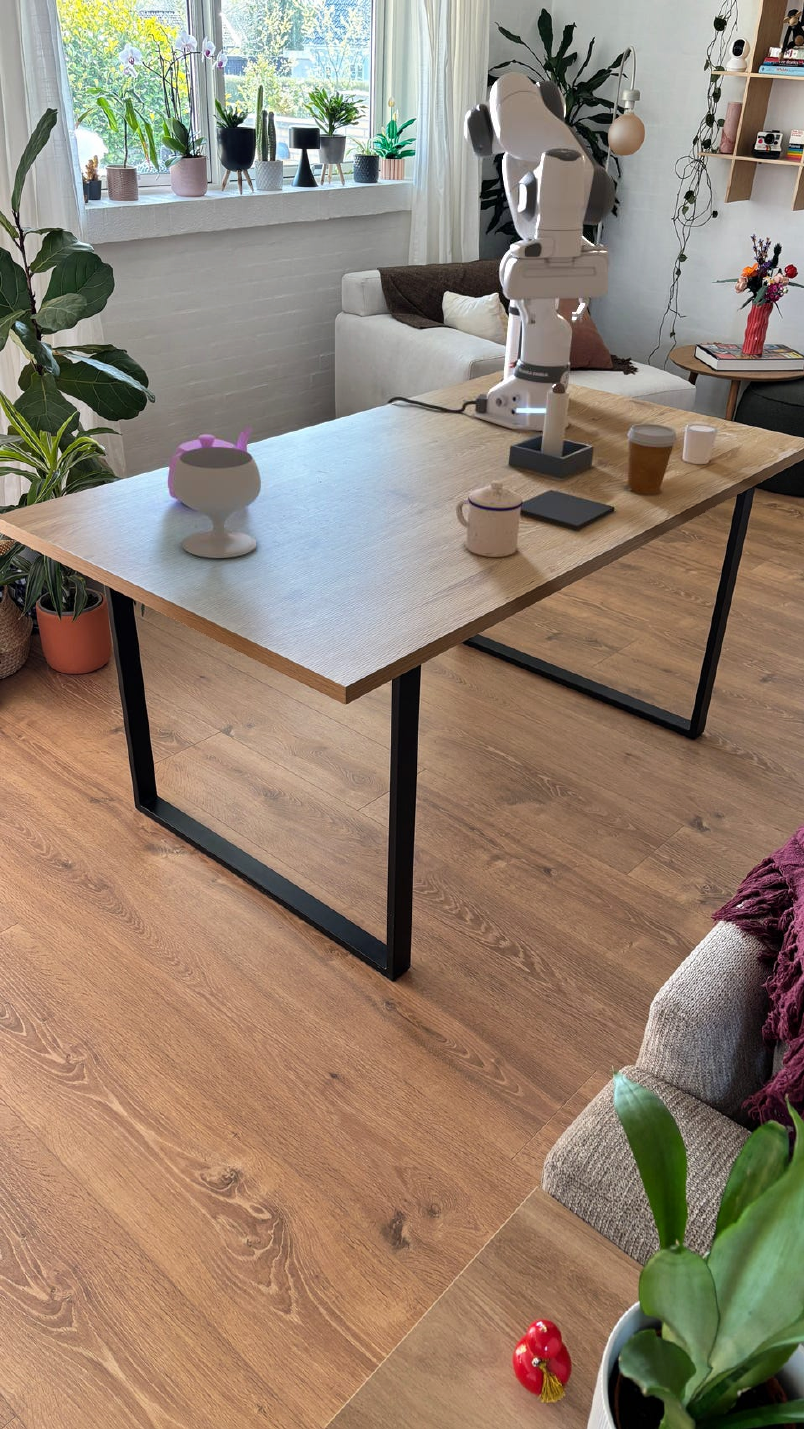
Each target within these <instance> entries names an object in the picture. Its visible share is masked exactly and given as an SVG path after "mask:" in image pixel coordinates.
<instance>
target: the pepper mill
mask: <svg viewBox="0 0 804 1429" xmlns="http://www.w3.org/2000/svg"><path fill="white" fill-rule="evenodd" d="M569 401H570V391H568V390H566V387H565V385H564V384H563V383H560V382H559V383H555V384H554V385H553V387H552V389H551V390H548V392H547V401H546V410H545V419H544V429H543V431H542V434H543V438H542V447H541V452H543V453H547V454H551V455H555V456H559V457H562V452H563V444H564V439H565V434H566V428H567V427H566V418H568V410H569ZM565 427H566V428H565Z"/></svg>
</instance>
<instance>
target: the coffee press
mask: <svg viewBox="0 0 804 1429" xmlns="http://www.w3.org/2000/svg"><path fill="white" fill-rule="evenodd" d="M509 300H510V299H509ZM559 303H560V298H558V299H555V308H556V312H557V314H558V315H559V313H560V311H559V310H560V307H559ZM521 349H522V320H521V315H520V312H519V309H518V307H517V305H516V303H515V301H514V300H510V302H509V304H508V324H507V334H506V344H505V357H504V368H503V377H502V379H501V380H500V382H502V381H503V380H505V379H506V378H508V377H509V376H511V375H512V373H513V371H514V367H512V368H510V366H511V365H512V364H510V363H512V362H515V361H516V360H518V359H520V358H521Z"/></svg>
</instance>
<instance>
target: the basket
mask: <svg viewBox="0 0 804 1429" xmlns="http://www.w3.org/2000/svg"><path fill="white" fill-rule="evenodd" d="M542 438H543V433H541V434H538V435H535V436H532V437H530V438H527V439H525V440H522V441H519V442H517V443H514V444H511V445H510V446H509V454H508V466H511V467H514V468H518V469H522V470H525V471H530V472H533V473H537V474H540V475H541V474H542V475H545V476H549V477H554V478H557V479H561V480H562V479H564V478H566V477H568V476H570V475H572V474H576V473H578V472H579V471H582V470H584V469H586V468H588V467H591V466H592V465H593V459H594V458H593V456H594V450H595V446H594V445H590V444H587V443H582V442H579V441H574V440H571V439H565V438H564V444H563V452H562V457H559V456H555V455H551V454H547V453H543V452H541V447H542Z"/></svg>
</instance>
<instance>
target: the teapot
mask: <svg viewBox="0 0 804 1429" xmlns="http://www.w3.org/2000/svg"><path fill="white" fill-rule="evenodd" d="M253 430H254V427H248V428H245V430H243V431H241V432H240V434H239V435H238V439H237V443H236V445H235V444H233V443H231V442H229V441H225V440H223V439H218V438H216V436H215V435H211V434H200V435H199V436H198V439H193V440H190V441H186V442H184V443H181V444H179V446H178V447H177V448H176V450H175V452H174V455H173V457H172V458H171V459H170V461H169V463H168V474H167V488H168V494H169V495H170V497H171V498H173V499H175V500H177V501H179V502H181V501H180V500H179V499H178V497H177V496H176V494H175V492H174V489H173V475H174V470H175V466H176V463H177V461H178V458H179V457H180V455H181V454H183V453H184V452H186V451H189V450H193V449H198V448H205V447H226V448H234V449H239V450H243V451H245V452H248V439H249V436H250V435H251V434H252V432H253Z"/></svg>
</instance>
